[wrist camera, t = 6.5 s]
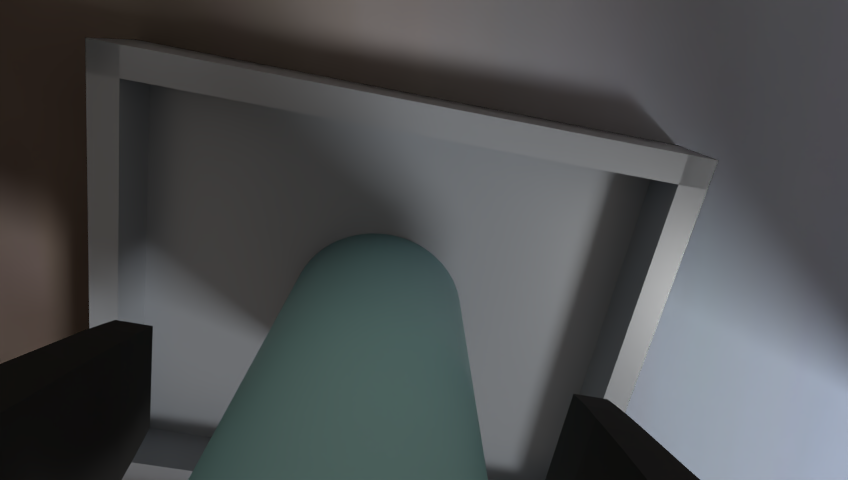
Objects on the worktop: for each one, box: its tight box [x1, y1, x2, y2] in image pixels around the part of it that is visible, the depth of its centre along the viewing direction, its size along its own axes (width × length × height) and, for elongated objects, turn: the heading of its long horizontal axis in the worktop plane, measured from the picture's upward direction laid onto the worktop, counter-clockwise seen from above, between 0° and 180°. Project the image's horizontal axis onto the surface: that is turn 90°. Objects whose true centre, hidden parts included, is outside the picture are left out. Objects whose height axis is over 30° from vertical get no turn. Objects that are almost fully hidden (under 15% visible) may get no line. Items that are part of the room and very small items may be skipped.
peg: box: [188, 233, 488, 480], centre depth 9 cm, size 4×4×8 cm
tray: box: [85, 38, 718, 480], centre depth 13 cm, size 12×10×2 cm
